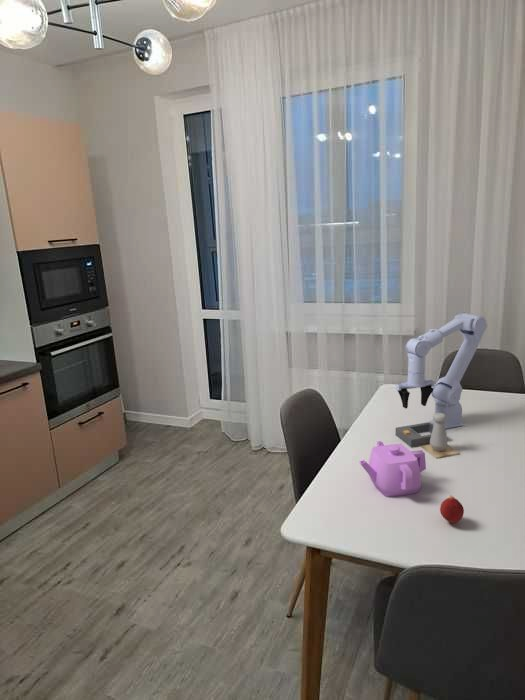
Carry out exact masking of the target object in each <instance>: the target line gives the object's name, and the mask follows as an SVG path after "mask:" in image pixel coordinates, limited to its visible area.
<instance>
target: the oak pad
mask: <svg viewBox="0 0 525 700" xmlns="http://www.w3.org/2000/svg"><path fill="white" fill-rule="evenodd" d="M421 448H422V449H423V450H424V451H426V452H427V453H428V454H429V455H431V456H433V458H435V459H442V458H447V457H454V456H458V455H461V452H460V451H458V450H456V449H455V448H453V447H452V446H450V445H449V444H448V443H447V446H446V448H445V449H444V451H441V452H437V451H434V450H433V449H432V447H431V445H430V444H429V445H423V446H421Z"/></svg>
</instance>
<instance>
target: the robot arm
mask: <svg viewBox="0 0 525 700" xmlns="http://www.w3.org/2000/svg"><path fill="white" fill-rule="evenodd" d="M487 328H488V324H487V320H486V317H484V316H483V315H476V314H471V313H467V312H459V313H458V314H456V315H454V318H453V319H452V320H450V321H449V322H448V323H446V324H444V325H443V326H441V327H440V328H438V329H437V328H430V329H428V331H427V332H425V333H424V334H421V335H419V336H418V337H417V338H416V337H415V338H410V339H409V340H408V341H407V343H406V345H405V346H404V348H405V349H404V350H405V351H406V354H407V359H408V361H407V379H406V380H407V381H403V382H402V383H396V384H395V385H396V386H395V389H396V390H397V392H398V394H399V396H400V399H401V403H402V408H404V409H408V406H409V397H410V394H411V393H410V392H409V390H411V389H418V388H420V405H422V406H423V407H426V406H427V403H428V399H429V398H430V396H432V398H433V401H434V414H435V413H443V414H445V415H446V421H445V429H446V430H447V429H450V428H457V427H463V425H464V424H463V423H462V421H463V407H462V404H461V403H460V400H461V395H462V392H463V390H464V389H463V387H462V385H461V383H460V382H461V381H462V379H463V377H464V375H465V373H466V371H467V369H468V366H469V365H470V363H471V361H472V360H473V357H474V356H475V353H476V351H477V349H478V348H479V345H480V343H481V342H482V339H483V338H482V337H483V336H484V334H485V331H486V329H487ZM458 331H459V333H460V334H461V336H462V337H463V341H462V343H461V344H460V345H461V346H460V347H459V349H458V351H457V353H456V355H455V357H454V359H453V361H452V363H451V365H450V367H449V369H448V371H447V373H446V374H445V376H443V377H441V378H438V380H437V382H436V383H435V381H434V380H432V379H425V365H426V364H425V362H426V356H427V355H428V354H429V351H431V349H432V348H435V347H436V346H437V345H439V344H441V343H442V342H443V340H444V338H446V337H448V336H450V335H452V334H454V333H456V332H458ZM429 422H430V423H431V424H433V425H434V422H435V421H434V420H433V419H431V420H429Z"/></svg>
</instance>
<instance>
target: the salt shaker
mask: <svg viewBox="0 0 525 700" xmlns="http://www.w3.org/2000/svg"><path fill="white" fill-rule="evenodd" d="M432 420H434V421H435V422H434V424H433V425H434V426H433V430H432V433H430V434H431V438H430V444H429V445H431V447H432V449H433V450H434V451H437V452H441V451H444V449H445V448H446V446H447V444H448V439H447V435H446V434H447V431H446V430H447V428H446V429H445V421H446V415H445V414H443V413H435V412H434V414H433V416H432Z"/></svg>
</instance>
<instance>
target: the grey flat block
mask: <svg viewBox="0 0 525 700" xmlns="http://www.w3.org/2000/svg"><path fill="white" fill-rule="evenodd" d="M433 426H434V424H432V423H431V422H430V421H427V422H421V423H416V424H411V425H405V426H398V427H395V436H396V437H397V438H398V439H400V440H401V441H402V442H403V443H405V444H406V445H407V446H408V447H410V448H417V447H422V446H424V445H430V438H431V434H432V430H433ZM427 432H429V433H430V434H426V435H425V434H424V435H421V433H427ZM446 436H447V433H446Z"/></svg>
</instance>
